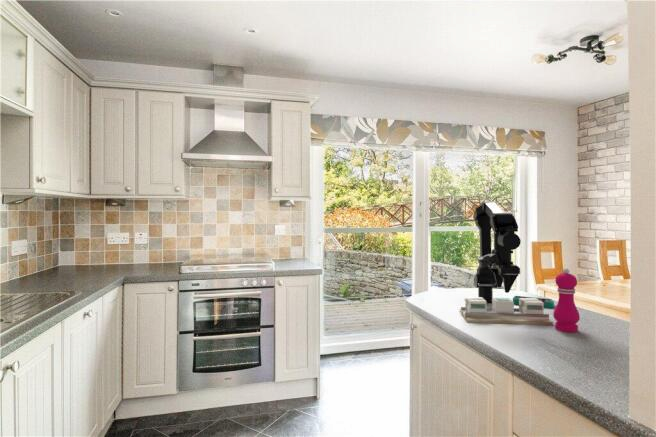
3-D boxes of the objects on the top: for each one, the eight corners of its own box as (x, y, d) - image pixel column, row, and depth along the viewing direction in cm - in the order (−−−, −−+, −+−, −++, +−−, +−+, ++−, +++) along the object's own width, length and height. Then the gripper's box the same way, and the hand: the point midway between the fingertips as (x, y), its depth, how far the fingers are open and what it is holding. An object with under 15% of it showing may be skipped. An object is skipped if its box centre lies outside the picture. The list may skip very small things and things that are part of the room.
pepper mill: (571, 334, 116) (571, 270, 116) (548, 328, 123) (548, 268, 122) (584, 330, 120) (584, 269, 119) (561, 324, 126) (561, 266, 126)
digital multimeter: (553, 309, 147) (553, 302, 147) (512, 305, 154) (512, 298, 154) (553, 305, 153) (553, 298, 153) (513, 301, 161) (513, 294, 161)
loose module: (492, 311, 138) (492, 297, 138) (509, 311, 138) (509, 297, 137) (496, 314, 134) (495, 300, 133) (513, 315, 133) (513, 301, 132)
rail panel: (459, 311, 145) (459, 294, 145) (536, 313, 140) (536, 296, 140) (467, 322, 131) (466, 303, 131) (553, 324, 126) (552, 305, 126)
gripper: (473, 244, 146) (473, 284, 146) (485, 249, 127) (486, 295, 127) (503, 244, 144) (504, 285, 144) (520, 249, 125) (521, 295, 126)
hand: (502, 289), depth 135 cm, fingers open, 9 cm apart
